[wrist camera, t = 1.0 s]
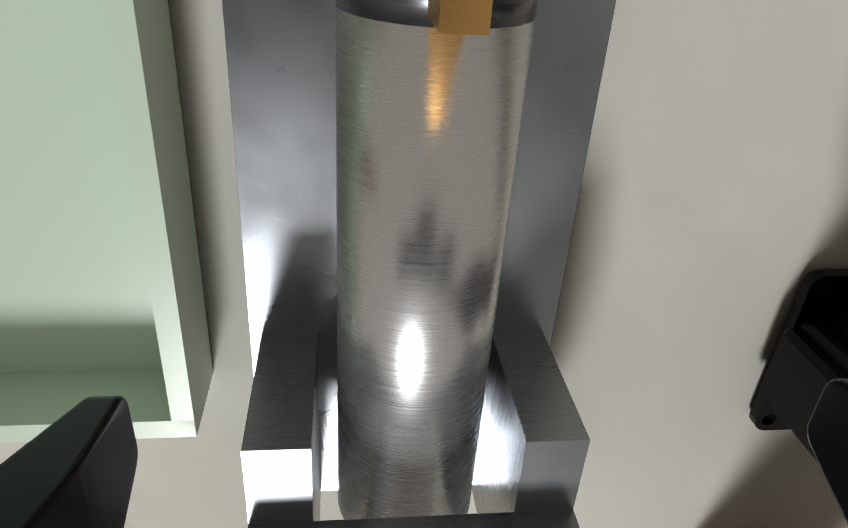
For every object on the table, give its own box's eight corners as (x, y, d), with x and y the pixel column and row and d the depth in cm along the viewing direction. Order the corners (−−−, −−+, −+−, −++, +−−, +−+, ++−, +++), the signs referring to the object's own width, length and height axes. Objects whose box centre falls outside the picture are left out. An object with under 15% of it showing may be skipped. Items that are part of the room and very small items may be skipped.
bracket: (618, -97, 16) (771, -78, 10) (517, 461, 25) (569, 634, 19) (219, -123, 15) (143, -120, 9) (266, 470, 24) (243, 656, 18)
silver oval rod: (518, -61, 15) (600, -29, 10) (459, 443, 22) (490, 595, 18) (335, -71, 14) (332, -44, 10) (338, 447, 22) (337, 605, 17)
